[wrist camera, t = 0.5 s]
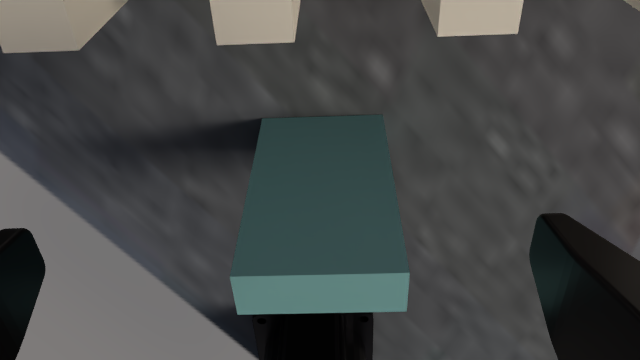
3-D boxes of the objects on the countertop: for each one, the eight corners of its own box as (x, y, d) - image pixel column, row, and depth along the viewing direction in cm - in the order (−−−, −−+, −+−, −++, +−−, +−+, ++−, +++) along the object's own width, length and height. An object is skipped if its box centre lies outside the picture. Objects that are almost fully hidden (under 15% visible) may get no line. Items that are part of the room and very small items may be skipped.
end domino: (381, 147, 23) (406, 311, 16) (266, 150, 23) (237, 314, 16) (382, 114, 22) (409, 272, 15) (262, 118, 22) (230, 276, 15)
